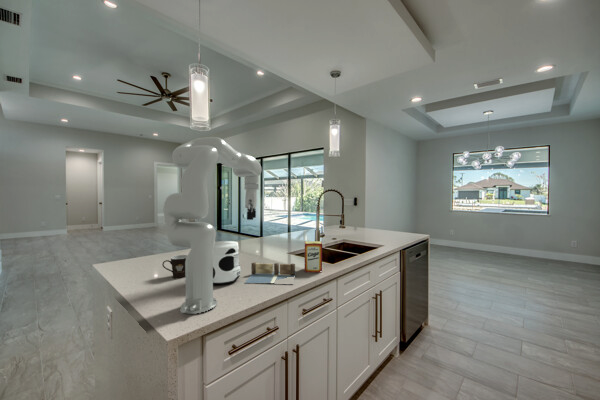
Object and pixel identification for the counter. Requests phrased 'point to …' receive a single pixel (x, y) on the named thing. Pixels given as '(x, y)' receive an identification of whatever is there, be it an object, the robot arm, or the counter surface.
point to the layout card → (266, 278)
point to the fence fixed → (284, 269)
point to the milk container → (225, 262)
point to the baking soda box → (313, 256)
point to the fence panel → (261, 268)
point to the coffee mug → (177, 266)
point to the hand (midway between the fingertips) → (251, 218)
